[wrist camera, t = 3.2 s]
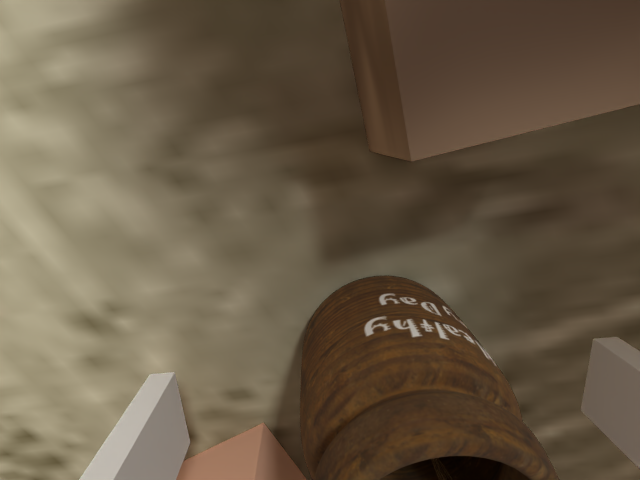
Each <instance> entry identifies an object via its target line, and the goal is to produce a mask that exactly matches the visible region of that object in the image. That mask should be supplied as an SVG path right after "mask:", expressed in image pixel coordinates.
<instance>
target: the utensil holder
mask: <svg viewBox="0 0 640 480" xmlns="http://www.w3.org/2000/svg"><path fill="white" fill-rule="evenodd" d="M300 429H301V441H302V447H303V452H304V457H305V461H306V465H307V468H308V470H309V473H310V475H311V478H312V480H559V478H558V476H557V474H556V472H555V470H554V468H553V466H552V464H551V462H550V460H549V458H548V456H547V454H546V453H545V451H544V449H543V447H542V446H541V444H540V443H539V441H538V440H537V438H536V437H535V435H534V434H533V433H532V432H531V431H530V429H529V428H528V427H527V426H526V425H525V424H524V423H523V422H522V416H521V413H520V409H519V405H518V402H517V400H516V397H515V395H514V393H513V391H512V389H511V387H510V385H509V383H508V381H507V380H506V378H505V377H504V375H503V374H502V372H501V370H500V369H499V368H498V366H497V365H496V363H495V362H494V361H493V359H492V358H491V357H490V355H489V354H488V353H487V351H486V350H485V349H484V348H483V346H482V345H481V344H480V343H479V341H478V340H477V339H476V338H475V337H474V335H473V334H472V333H471V332H470V330H469V329H468V328H467V327H466V326H465V324H464V323H463V322H462V321H461V320H460V318H459V317H458V316H457V315H456V314H455V312H454V311H453V310H452V309H451V308H450V307H449V306H448V305H447V304H446V303H445V302H444V301H443V300H442V299H441V298H440V297H439V296H438V295H436V294H435V293H434V292H432V291H431V290H430V289H428V288H426V287H425V286H423V285H421V284H419V283H417V282H414V281H412V280H409V279H405V278H401V277H395V276H373V277H367V278H363V279H359V280H356V281H354V282H351V283H349V284H347V285H345V286H343V287H341V288H340V289H338V290H337V291H335V292H334V293H332V294H331V295H330V296H329V297H328V298H327V299H326V300H325V301H324V302H323V303H322V304H321V305H320V306H319V308H318V309H317V310H316V312H315V314H314V315H313V317H312V319H311V321H310V323H309V326H308V328H307V332H306V335H305V339H304V344H303V353H302V366H301V394H300Z"/></svg>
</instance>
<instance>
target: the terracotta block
mask: <svg viewBox="0 0 640 480" xmlns="http://www.w3.org/2000/svg"><path fill="white" fill-rule="evenodd" d="M176 480H307V479H306V478H305V476H304V475H303V474H302V472H301V471H300V470H299V468H298V467H297V466H296V465H295V463H294V462H293V461H292V459H291V458H290V457H289V455H288V454H287V453H286V451H285V450H284V449H283V447H282V446H281V445H280V443H279V442H278V441H277V440H276V438H275V437H274V436H273V434H272V433H271V432H270V430H269V429H268V428H267V426H266V425H265V424H264V423H262V424H260V425H257V426H255V427H253V428H251V429H249V430H247V431H245V432H243V433H241V434H239V435H237V436H234V437H232V438H230V439H228V440H226V441H224V442H222V443H220V444H218V445H216V446H213V447H211V448H209V449H207V450H205V451H203V452H201V453H199V454H197V455H195V456H192V457H190V458H188V459H186V460H184V461H183V463H182V465H181V468H180V471H179V473H178V476H177V478H176Z"/></svg>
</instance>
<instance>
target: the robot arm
mask: <svg viewBox="0 0 640 480" xmlns="http://www.w3.org/2000/svg"><path fill="white" fill-rule="evenodd" d="M581 411H582V412H583V413H584V414H585V415H586V416H587V417H588V418H589V419H590V420H591V421H592V422H593V423H594V424H595V425H596V426H597V427H598V428H599V429H600V430H601V431H602V432H603V433H604V434H605V435H606V436H607V437H608V438H609V439H610V440H611V441H612V442H613V443H614V444H615V445H616V446H617V447H618V448H619V449H620V450H621V451H622V452H623V453H624V454H625V455H626V456H627V457H628V458H629V459H630V460H631V461H632V462H633V463H634V464H635V465H636V466H637V467H638V468H639V469H640V351H639V350H637V349H636V348H634V347H633V346H631V345H629V344H628V343H626V342H625V341H623V340H622V339H620V338H618V337H608V338H595V339H593V343H592V348H591V354H590V360H589V365H588V371H587V377H586V382H585V388H584V394H583V399H582V405H581ZM189 445H190V439H189V434H188V429H187V425H186V420H185V416H184V411H183V407H182V402H181V398H180V393H179V389H178V384H177V379H176V375H175V372H169V373H156V374H150V375H149V376H148V378H147V379H146V381H145V382H144V384H143V385H142V387H141V388H140V390H139V391H138V393H137V394H136V396H135V397H134V399H133V400H132V402H131V403H130V405H129V406H128V408H127V409H126V410H125V412H124V413H123V415H122V416H121V418H120V419H119V421H118V422H117V424H116V425H115V427H114V428H113V430H112V431H111V433H110V434H109V436H108V437H107V439H106V440H105V442H104V443H103V445H102V446H101V448H100V449H99V451H98V452H97V454H96V455H95V457H94V458H93V460H92V461H91V463H90V464H89V466H88V467H87V469H86V470H85V472H84V473H83V475H82V476H81V477H80V479H79V480H176V478H177V476H178V473H179V471H180V468H181V465H182V463H183V460H184V458H185V455H186V453H187V450H188V447H189Z"/></svg>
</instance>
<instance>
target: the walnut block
mask: <svg viewBox="0 0 640 480" xmlns="http://www.w3.org/2000/svg"><path fill="white" fill-rule="evenodd" d="M340 4H341V9H342V14H343V19H344V24H345V29H346V34H347V39H348V44H349V50H350V55H351V60H352V65H353V70H354V75H355V80H356V85H357V90H358V95H359V100H360V105H361V110H362V115H363V120H364V125H365V130H366V135H367V140H368V145H369V150H370V151H372V152H375V153H379V154H383V155H387V156H391V157H395V158H399V159H403V160H407V161H411V162H412V161H416V160H420V159H424V158H428V157H432V156H436V155H440V154H444V153H448V152H452V151H456V150H460V149H464V148H468V147H472V146H476V145H479V144H483V143H487V142H491V141H495V140H499V139H503V138H507V137H511V136H515V135H519V134H523V133H527V132H531V131H535V130H539V129H543V128H547V127H551V126H555V125H559V124H563V123H567V122H571V121H575V120H579V119H583V118H587V117H591V116H595V115H599V114H603V113H607V112H611V111H615V110H619V109H622V108H626V107H630V106H634V105H638V104H640V0H340Z"/></svg>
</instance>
